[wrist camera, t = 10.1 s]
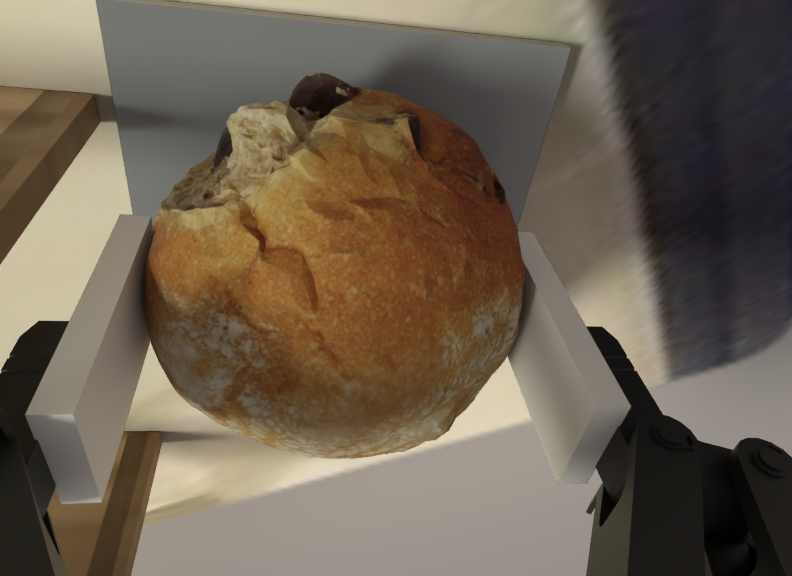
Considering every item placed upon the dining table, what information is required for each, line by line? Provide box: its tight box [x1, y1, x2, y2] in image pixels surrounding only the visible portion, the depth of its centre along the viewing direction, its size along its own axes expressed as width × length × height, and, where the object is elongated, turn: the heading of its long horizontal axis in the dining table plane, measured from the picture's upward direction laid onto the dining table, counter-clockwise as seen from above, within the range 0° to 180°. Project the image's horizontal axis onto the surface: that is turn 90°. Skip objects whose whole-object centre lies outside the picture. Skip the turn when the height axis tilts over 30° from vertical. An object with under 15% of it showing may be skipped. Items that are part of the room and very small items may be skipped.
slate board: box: [96, 0, 571, 227], centre depth 18 cm, size 12×12×1 cm
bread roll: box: [143, 72, 525, 459], centre depth 15 cm, size 10×10×8 cm
